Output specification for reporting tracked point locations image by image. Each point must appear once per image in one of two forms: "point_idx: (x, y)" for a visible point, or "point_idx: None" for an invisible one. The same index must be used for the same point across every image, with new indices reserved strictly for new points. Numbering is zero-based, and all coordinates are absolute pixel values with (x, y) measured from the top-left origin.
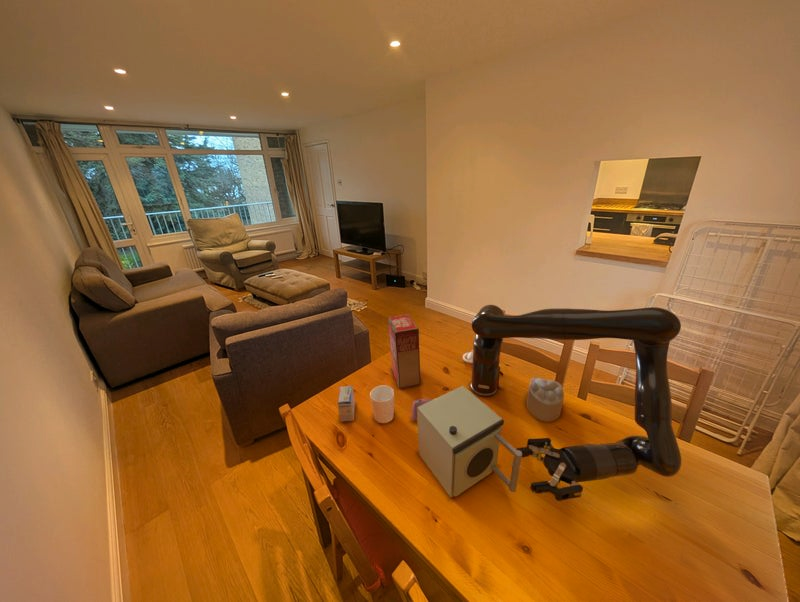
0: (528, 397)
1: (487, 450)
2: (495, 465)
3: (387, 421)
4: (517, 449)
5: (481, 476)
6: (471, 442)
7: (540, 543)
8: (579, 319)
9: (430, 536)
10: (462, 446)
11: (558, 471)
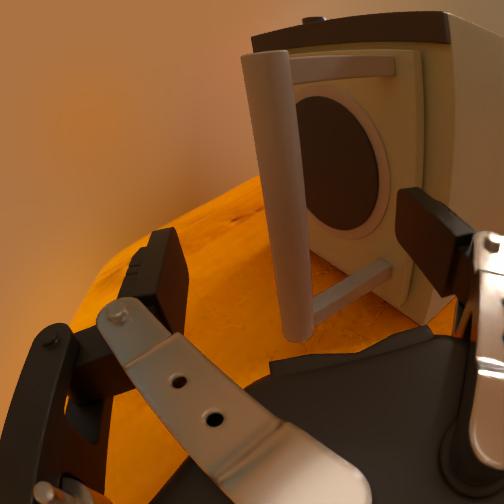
0: None
1: (342, 117)
2: (398, 281)
3: None
4: (423, 191)
5: (342, 254)
6: (294, 41)
7: (131, 414)
8: None
9: (205, 217)
10: (269, 39)
11: (202, 393)
